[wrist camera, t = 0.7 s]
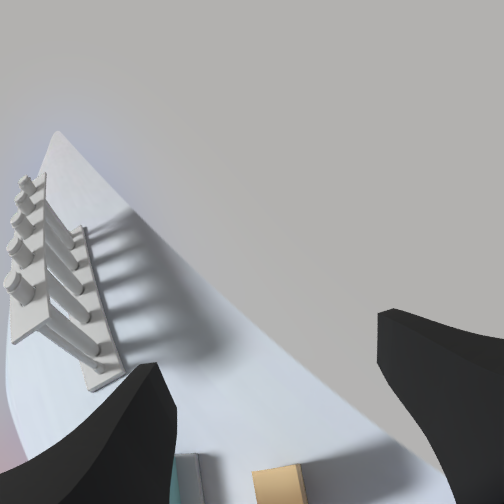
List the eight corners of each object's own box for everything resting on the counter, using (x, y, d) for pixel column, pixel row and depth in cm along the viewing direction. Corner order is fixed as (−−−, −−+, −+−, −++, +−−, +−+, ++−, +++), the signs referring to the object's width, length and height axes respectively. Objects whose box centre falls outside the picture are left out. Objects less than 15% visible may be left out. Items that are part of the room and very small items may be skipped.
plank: (311, 520, 15) (312, 547, 9) (281, 526, 15) (267, 553, 9) (299, 463, 18) (295, 464, 12) (270, 469, 19) (251, 471, 13)
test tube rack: (60, 243, 40) (12, 177, 30) (83, 228, 41) (38, 158, 31) (92, 393, 25) (-10, 329, 14) (126, 373, 26) (30, 299, 16)
